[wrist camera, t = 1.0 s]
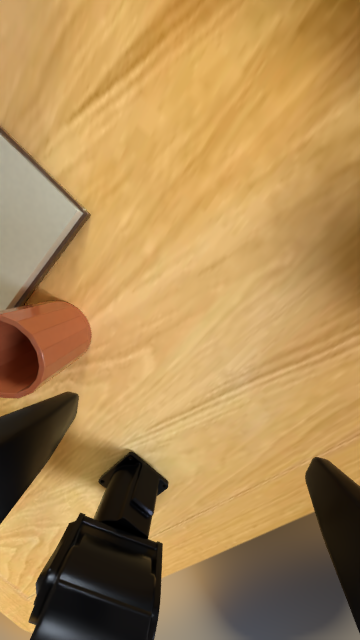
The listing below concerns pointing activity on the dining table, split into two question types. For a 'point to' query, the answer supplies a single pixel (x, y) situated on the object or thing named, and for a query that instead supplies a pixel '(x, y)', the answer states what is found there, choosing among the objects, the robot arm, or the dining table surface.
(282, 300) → the dining table surface
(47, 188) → the tile
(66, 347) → the pot
